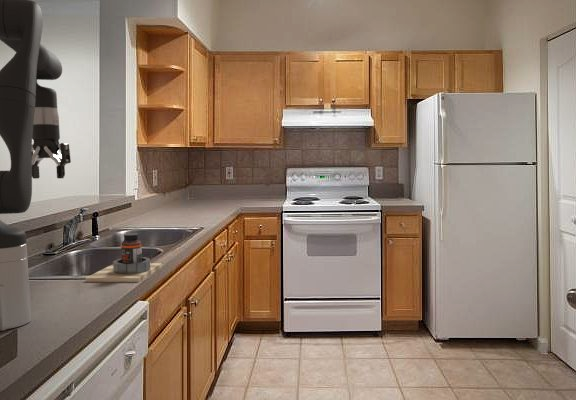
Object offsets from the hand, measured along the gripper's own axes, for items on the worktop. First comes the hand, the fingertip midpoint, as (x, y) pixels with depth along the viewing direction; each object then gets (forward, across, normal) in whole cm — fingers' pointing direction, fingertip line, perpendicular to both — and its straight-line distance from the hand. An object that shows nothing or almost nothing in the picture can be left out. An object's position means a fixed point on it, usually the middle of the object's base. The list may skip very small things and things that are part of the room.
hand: (48, 178), depth 150 cm
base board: (+30, +20, +8) cm, 37 cm away
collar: (+29, +22, +8) cm, 37 cm away
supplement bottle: (+29, +22, +8) cm, 37 cm away
